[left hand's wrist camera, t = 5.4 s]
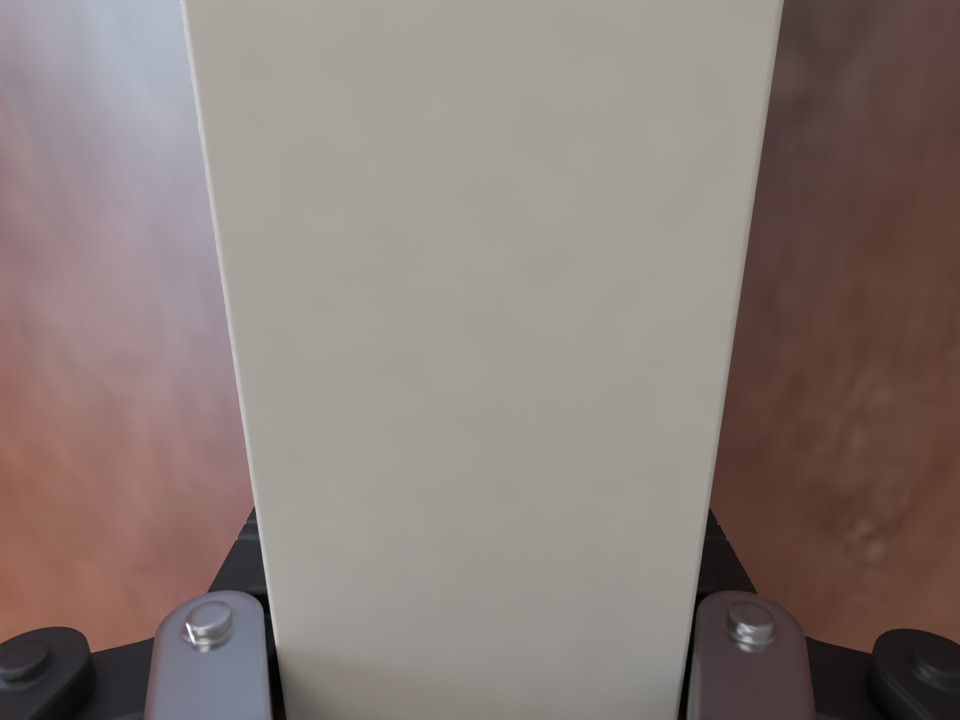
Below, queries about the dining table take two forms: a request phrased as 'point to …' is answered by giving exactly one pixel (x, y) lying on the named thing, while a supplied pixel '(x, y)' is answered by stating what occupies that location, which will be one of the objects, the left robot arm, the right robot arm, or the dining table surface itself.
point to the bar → (481, 334)
